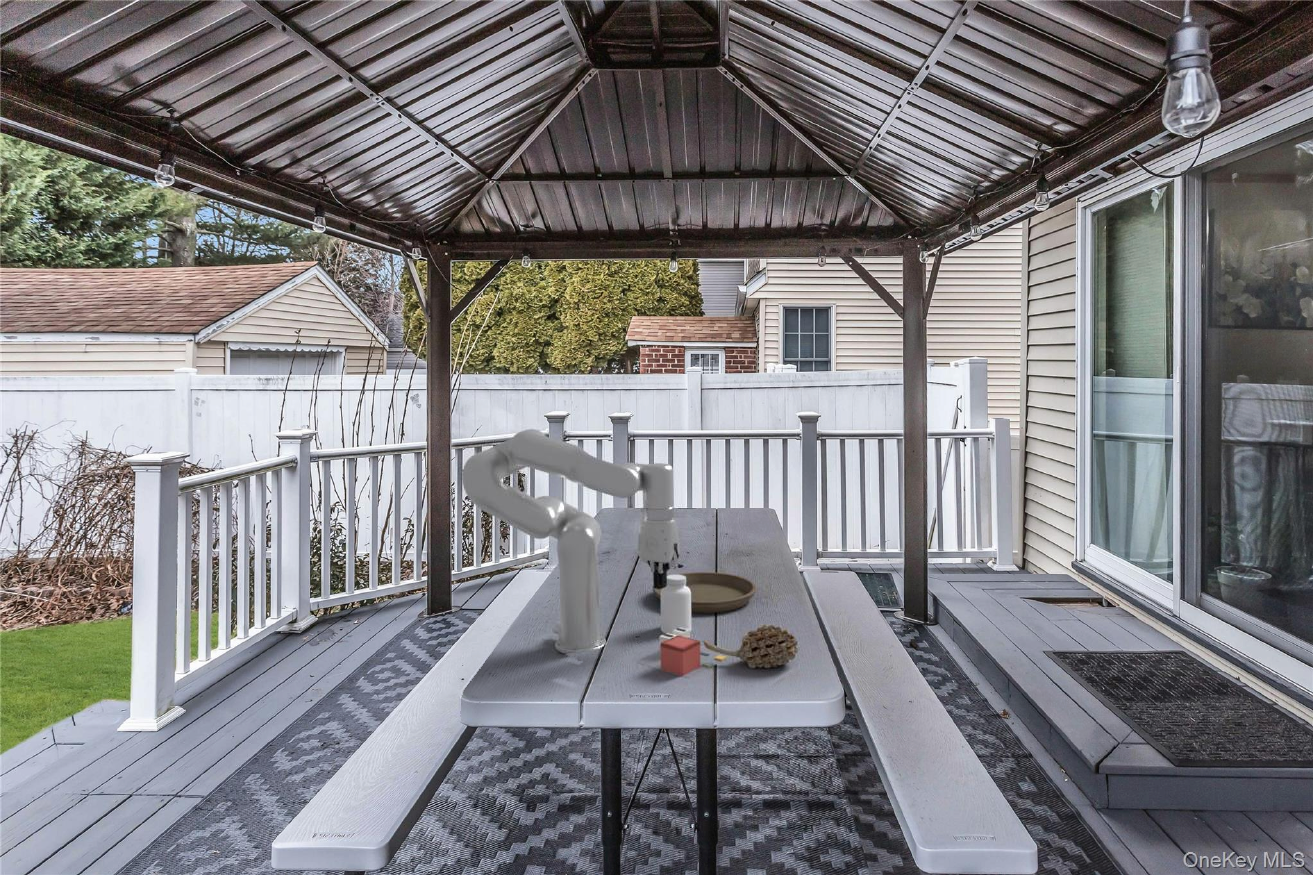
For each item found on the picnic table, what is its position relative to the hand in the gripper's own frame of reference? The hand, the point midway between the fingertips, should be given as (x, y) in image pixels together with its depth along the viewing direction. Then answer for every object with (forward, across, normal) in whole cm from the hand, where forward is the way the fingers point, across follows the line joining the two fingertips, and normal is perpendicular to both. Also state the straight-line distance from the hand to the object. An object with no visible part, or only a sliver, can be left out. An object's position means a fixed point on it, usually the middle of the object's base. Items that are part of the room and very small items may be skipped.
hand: (660, 587), depth 188 cm
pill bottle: (+15, -3, +10) cm, 18 cm away
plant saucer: (+15, -15, +39) cm, 45 cm away
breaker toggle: (+14, +6, 0) cm, 15 cm away
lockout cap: (+14, +14, -10) cm, 22 cm away
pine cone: (+15, +25, +1) cm, 29 cm away
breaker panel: (+15, +11, -5) cm, 19 cm away
